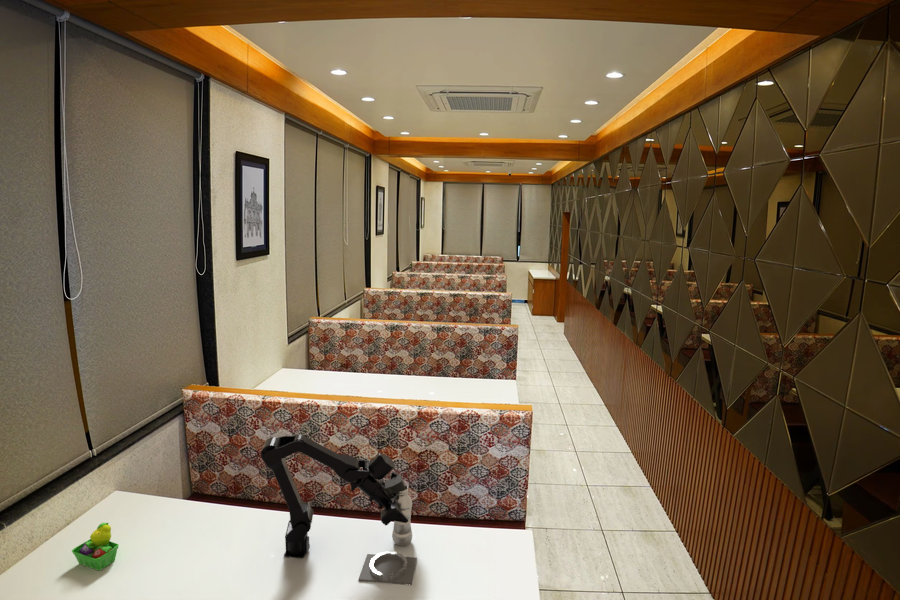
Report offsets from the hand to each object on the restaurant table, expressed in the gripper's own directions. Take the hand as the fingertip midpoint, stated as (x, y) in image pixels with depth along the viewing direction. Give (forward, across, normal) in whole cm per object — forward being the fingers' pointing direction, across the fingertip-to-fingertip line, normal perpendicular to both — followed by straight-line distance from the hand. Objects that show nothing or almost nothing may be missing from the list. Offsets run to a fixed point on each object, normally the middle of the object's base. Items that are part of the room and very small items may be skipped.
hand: (406, 516), depth 175 cm
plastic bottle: (+6, 0, +8) cm, 10 cm away
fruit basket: (-60, +4, +74) cm, 96 cm away
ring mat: (+2, -13, +12) cm, 17 cm away
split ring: (+2, -13, +12) cm, 17 cm away
